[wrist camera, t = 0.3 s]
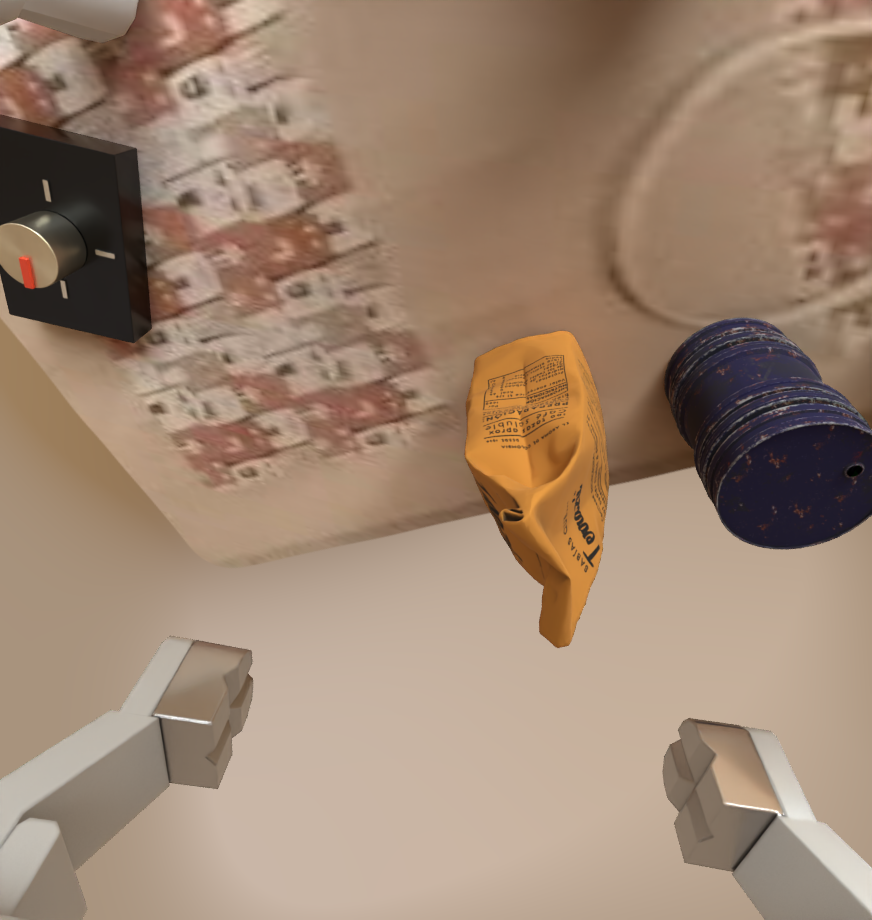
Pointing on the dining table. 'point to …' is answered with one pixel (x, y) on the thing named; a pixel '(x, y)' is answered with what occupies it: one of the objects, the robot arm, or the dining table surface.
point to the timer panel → (79, 227)
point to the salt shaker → (75, 16)
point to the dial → (41, 249)
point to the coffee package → (542, 466)
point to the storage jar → (770, 436)
